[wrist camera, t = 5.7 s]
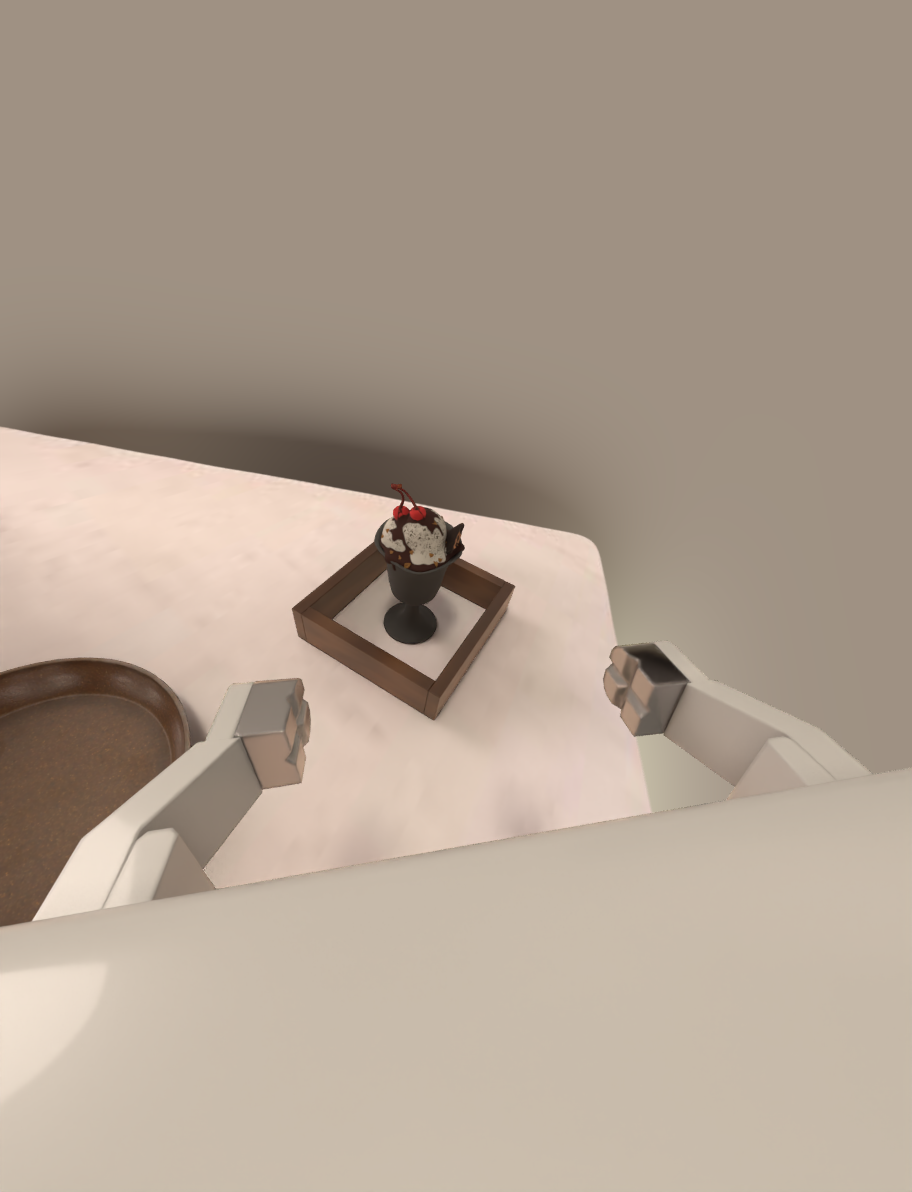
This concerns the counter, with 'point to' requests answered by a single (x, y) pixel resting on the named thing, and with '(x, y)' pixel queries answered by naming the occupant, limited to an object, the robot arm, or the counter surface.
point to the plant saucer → (73, 762)
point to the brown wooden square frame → (376, 662)
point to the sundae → (416, 566)
